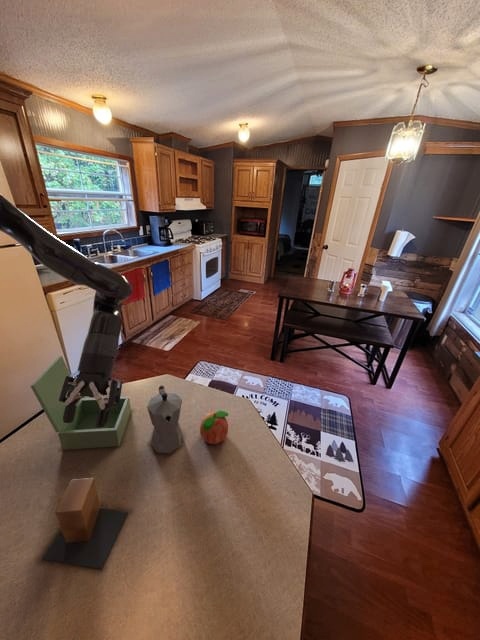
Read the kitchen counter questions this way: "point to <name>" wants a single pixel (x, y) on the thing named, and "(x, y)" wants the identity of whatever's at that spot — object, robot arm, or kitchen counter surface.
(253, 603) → the kitchen counter surface
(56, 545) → the plate
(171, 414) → the coffeepot
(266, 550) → the kitchen counter surface
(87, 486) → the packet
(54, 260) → the robot arm
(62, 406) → the lid
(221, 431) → the fruit
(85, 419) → the open box
